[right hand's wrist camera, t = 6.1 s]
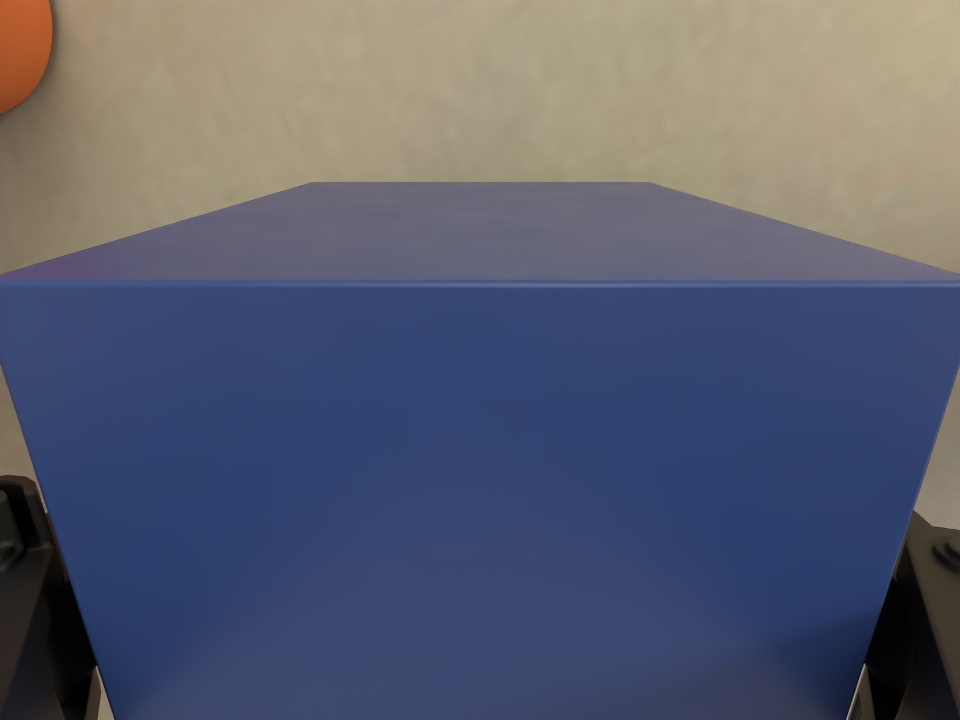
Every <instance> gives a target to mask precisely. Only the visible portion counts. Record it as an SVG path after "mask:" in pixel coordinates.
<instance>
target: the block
mask: <svg viewBox="0 0 960 720" xmlns="http://www.w3.org/2000/svg"><path fill="white" fill-rule="evenodd" d="M0 364H1V367H2V370H3V373H4V376H5V380H6V383H7V386H8V389H9V392H10V395H11V398H12V401H13V404H14V408H15V411H16V414H17V417H18V420H19V423H20V426H21V429H22V433H23V436H24V439H25V442H26V445H27V448H28V451H29V454H30V457H31V461H32V464H33V467H34V470H35V473H36V476H37V479H38V482H39V486H40V489H41V492H42V495H43V498H44V501H45V504H46V507H47V511H48V514H49V517H50V520H51V523H52V526H53V529H54V532H55V535H56V539H57V542H58V545H59V548H60V551H61V554H62V557H63V560H64V564H65V567H66V570H67V573H68V576H69V579H70V582H71V585H72V589H73V592H74V595H75V598H76V601H77V604H78V607H79V610H80V613H81V617H82V620H83V623H84V626H85V629H86V632H87V635H88V638H89V642H90V645H91V648H92V651H93V654H94V657H95V660H96V663H97V666H98V670H99V673H100V676H101V679H102V682H103V685H104V688H105V691H106V695H107V698H108V701H109V704H110V707H111V710H112V713H113V716H114V720H846V718H847V715H848V712H849V709H850V706H851V702H852V699H853V696H854V693H855V690H856V687H857V684H858V681H859V678H860V674H861V671H862V668H863V665H864V662H865V659H866V656H867V653H868V649H869V646H870V643H871V640H872V637H873V634H874V631H875V628H876V625H877V621H878V618H879V615H880V612H881V609H882V606H883V603H884V600H885V597H886V593H887V590H888V587H889V584H890V581H891V578H892V575H893V572H894V568H895V565H896V562H897V559H898V556H899V553H900V550H901V547H902V544H903V540H904V537H905V534H906V531H907V528H908V525H909V522H910V519H911V516H912V512H913V509H914V506H915V503H916V500H917V497H918V494H919V491H920V487H921V484H922V481H923V478H924V475H925V472H926V469H927V466H928V463H929V459H930V456H931V453H932V450H933V447H934V444H935V441H936V438H937V435H938V431H939V428H940V425H941V422H942V419H943V416H944V413H945V410H946V406H947V403H948V400H949V397H950V394H951V391H952V388H953V385H954V382H955V378H956V375H957V372H958V369H959V366H960V274H956V273H953V272H950V271H946V270H943V269H940V268H936V267H933V266H929V265H926V264H923V263H919V262H916V261H913V260H909V259H906V258H902V257H899V256H896V255H892V254H889V253H886V252H882V251H879V250H875V249H872V248H869V247H865V246H862V245H859V244H855V243H852V242H848V241H845V240H842V239H838V238H835V237H832V236H828V235H825V234H821V233H818V232H815V231H811V230H808V229H805V228H801V227H798V226H794V225H791V224H788V223H784V222H781V221H777V220H774V219H771V218H767V217H764V216H761V215H757V214H754V213H750V212H747V211H744V210H740V209H737V208H734V207H730V206H727V205H723V204H720V203H717V202H713V201H710V200H707V199H703V198H700V197H696V196H693V195H690V194H686V193H683V192H680V191H676V190H673V189H669V188H666V187H663V186H659V185H656V184H653V183H649V182H311V183H308V184H305V185H301V186H298V187H294V188H291V189H288V190H284V191H281V192H277V193H274V194H271V195H267V196H264V197H261V198H257V199H254V200H250V201H247V202H244V203H240V204H237V205H234V206H230V207H227V208H223V209H220V210H217V211H213V212H210V213H207V214H203V215H200V216H196V217H193V218H190V219H186V220H183V221H180V222H176V223H173V224H169V225H166V226H163V227H159V228H156V229H153V230H149V231H146V232H142V233H139V234H136V235H132V236H129V237H126V238H122V239H119V240H115V241H112V242H109V243H105V244H102V245H99V246H95V247H92V248H88V249H85V250H82V251H78V252H75V253H72V254H68V255H65V256H61V257H58V258H55V259H51V260H48V261H44V262H41V263H38V264H34V265H31V266H28V267H24V268H21V269H17V270H14V271H11V272H7V273H4V274H1V275H0Z"/></svg>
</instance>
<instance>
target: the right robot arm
mask: <svg viewBox="0 0 960 720" xmlns="http://www.w3.org/2000/svg"><path fill="white" fill-rule="evenodd" d="M864 663H865V668H864V672H863V675H862V678H861V681H860V684H859V687H858V690H857V693H856V696H855V699H854V702H853V706H852V709H851V712H850V715H849V718H848V720H960V530H956V529H949V528H942V527H932V526H931V525H930V524H929V523H928V522H927V521H926V520H924V519H923V518H922V517H921V516H920V515H919V514H918V513H916V512H915V511H914V510H913V512H912V516H911V519H910V522H909V525H908V528H907V531H906V534H905V537H904V540H903V544H902V547H901V550H900V553H899V556H898V559H897V562H896V565H895V568H894V572H893V575H892V578H891V581H890V584H889V587H888V590H887V593H886V597H885V600H884V603H883V606H882V609H881V612H880V615H879V618H878V621H877V625H876V628H875V631H874V634H873V637H872V640H871V643H870V646H869V649H868V653H867V656H866V659H865V662H864ZM96 666H97V663H96V660H95V657H94V654H93V651H92V648H91V645H90V642H89V638H88V635H87V632H86V629H85V626H84V623H83V620H82V617H81V613H80V610H79V607H78V604H77V601H76V598H75V595H74V592H73V589H72V585H71V582H70V579H69V576H68V573H67V570H66V567H65V564H64V560H63V557H62V554H61V551H60V548H59V545H58V542H57V539H56V535H55V532H54V529H53V526H52V523H51V520H50V517H49V514H48V512H47V513H46V514H45V510H44V507H43V504H42V501H41V498H40V495H39V492H38V489H37V486H36V483H35V482H34V481H32V480H31V479H29V478H27V477H24V476H13V475H4V476H0V720H97V719H98V712H99V705H100V697H101V688H100V682H99V678H98V675H97V672H96V668H95V667H96Z"/></svg>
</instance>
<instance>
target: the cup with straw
mask: <svg viewBox="0 0 960 720" xmlns="http://www.w3.org/2000/svg"><path fill="white" fill-rule="evenodd" d="M51 46H52V14H51V8H50V2H49V0H0V114H1V113H4V112H6V111H8V110H10V109H12V108H13V107H15V106H17V105H18V104H19V103H21V102H22V101H23V100H25V99H26V98H27V97H28V96H29V95H30V94H31V93H32V91H33V90H34V89H35V88H36V86H37V85H38V83H39V81H40V80H41V78H42V76H43V74H44V72H45V69H46V67H47V64H48V60H49V57H50V52H51Z"/></svg>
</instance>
